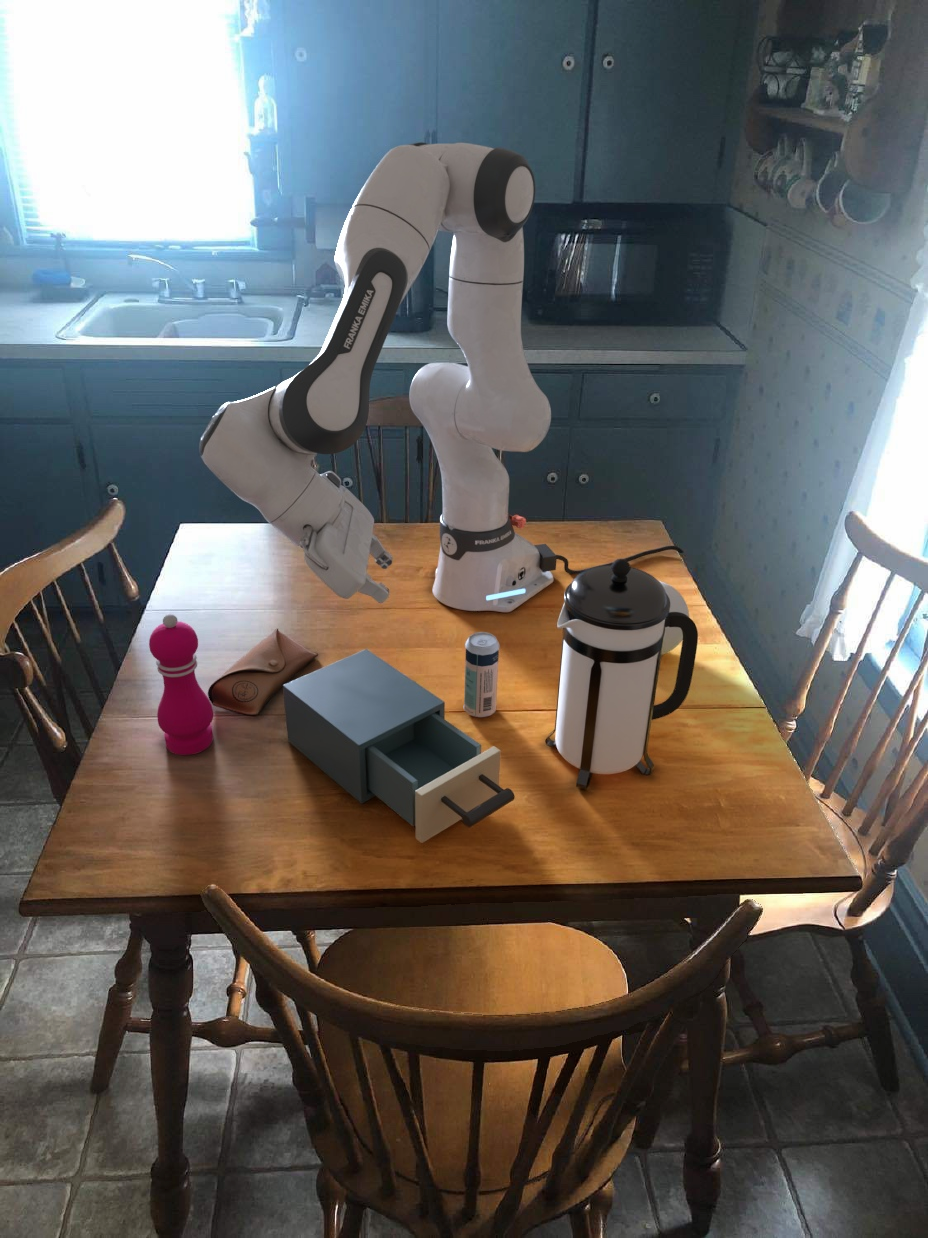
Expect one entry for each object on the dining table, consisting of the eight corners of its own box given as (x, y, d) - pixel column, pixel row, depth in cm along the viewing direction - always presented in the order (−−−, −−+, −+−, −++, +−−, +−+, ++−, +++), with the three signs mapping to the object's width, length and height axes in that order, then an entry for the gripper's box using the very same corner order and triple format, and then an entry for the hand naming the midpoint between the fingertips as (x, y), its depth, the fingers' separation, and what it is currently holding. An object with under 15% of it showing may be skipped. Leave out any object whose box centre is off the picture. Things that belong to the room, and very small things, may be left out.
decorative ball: (608, 627, 157) (615, 563, 151) (681, 634, 155) (692, 570, 149) (606, 667, 147) (614, 600, 141) (685, 674, 145) (696, 607, 139)
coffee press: (638, 812, 118) (670, 604, 103) (524, 770, 125) (538, 569, 110) (682, 739, 132) (716, 544, 116) (576, 704, 138) (595, 516, 123)
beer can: (500, 704, 138) (504, 634, 132) (490, 722, 134) (493, 651, 128) (469, 697, 139) (471, 627, 133) (458, 715, 135) (460, 644, 129)
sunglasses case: (258, 715, 133) (233, 676, 131) (225, 726, 137) (200, 688, 135) (321, 652, 148) (300, 616, 146) (289, 663, 151) (268, 628, 150)
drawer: (529, 819, 116) (532, 772, 112) (452, 869, 108) (452, 820, 105) (419, 738, 129) (418, 694, 125) (343, 778, 122) (341, 732, 118)
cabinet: (444, 758, 127) (445, 701, 122) (361, 804, 119) (358, 745, 114) (368, 702, 137) (366, 648, 133) (287, 741, 129) (282, 685, 125)
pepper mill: (167, 726, 132) (145, 601, 122) (220, 724, 132) (202, 599, 122) (157, 759, 126) (133, 630, 115) (213, 757, 126) (193, 629, 116)
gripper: (316, 530, 110) (401, 604, 115) (333, 465, 128) (406, 532, 133) (280, 564, 112) (365, 635, 117) (302, 496, 130) (375, 560, 135)
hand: (387, 580), depth 125 cm, fingers open, 8 cm apart
